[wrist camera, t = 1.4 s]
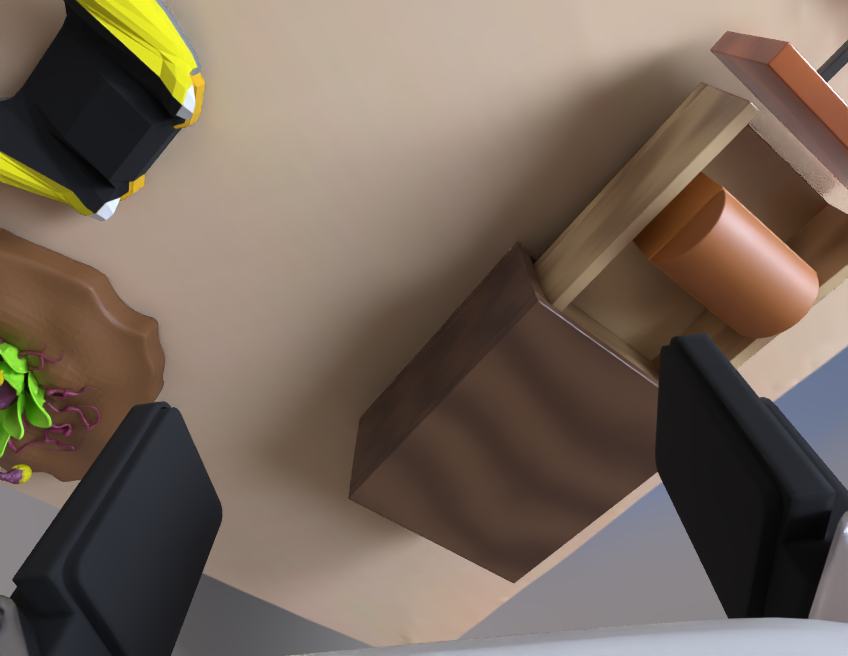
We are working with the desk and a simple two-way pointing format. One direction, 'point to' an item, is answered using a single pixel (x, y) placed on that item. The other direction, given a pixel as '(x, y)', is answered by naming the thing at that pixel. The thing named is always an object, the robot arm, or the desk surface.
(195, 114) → the gaming controller
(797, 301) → the brown rounded block
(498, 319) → the cabinet
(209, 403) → the desk surface
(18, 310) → the plant
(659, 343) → the drawer
